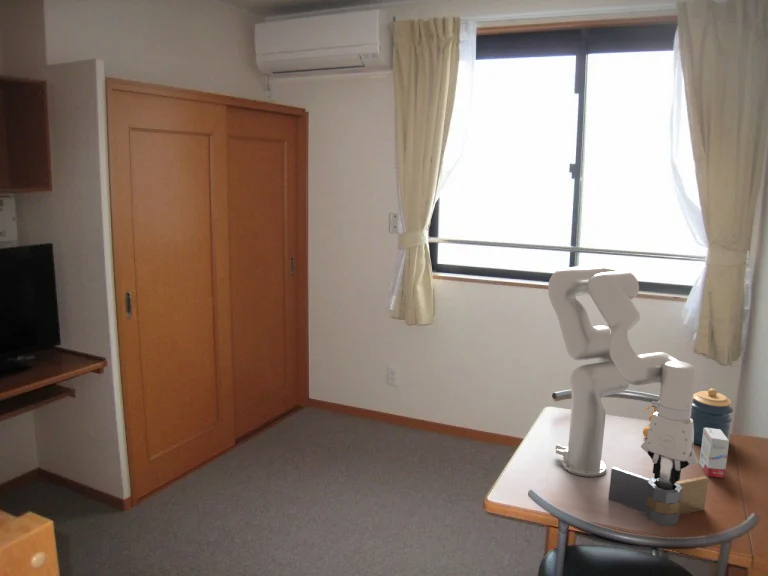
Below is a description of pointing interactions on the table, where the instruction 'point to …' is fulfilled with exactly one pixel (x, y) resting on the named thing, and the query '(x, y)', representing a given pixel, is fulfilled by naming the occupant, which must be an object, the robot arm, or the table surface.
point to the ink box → (714, 452)
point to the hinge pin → (665, 473)
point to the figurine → (646, 429)
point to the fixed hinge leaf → (643, 494)
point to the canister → (710, 413)
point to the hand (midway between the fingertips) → (665, 479)
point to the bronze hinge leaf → (684, 498)
